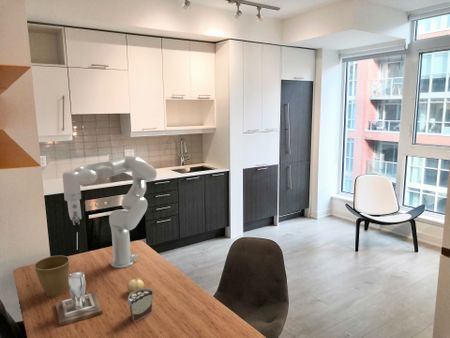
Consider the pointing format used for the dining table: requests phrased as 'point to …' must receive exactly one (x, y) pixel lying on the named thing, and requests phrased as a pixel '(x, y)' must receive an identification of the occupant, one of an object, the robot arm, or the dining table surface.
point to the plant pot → (53, 274)
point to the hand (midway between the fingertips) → (75, 229)
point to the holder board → (69, 315)
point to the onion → (135, 285)
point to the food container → (140, 303)
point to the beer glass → (77, 290)
